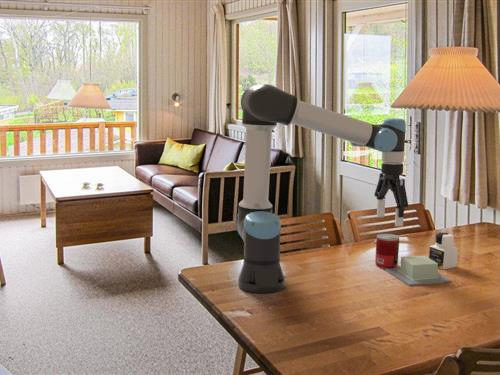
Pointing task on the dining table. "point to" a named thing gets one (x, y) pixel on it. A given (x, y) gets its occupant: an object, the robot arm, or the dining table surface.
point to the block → (419, 267)
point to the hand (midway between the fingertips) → (389, 221)
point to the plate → (411, 282)
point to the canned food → (387, 250)
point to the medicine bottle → (444, 251)
